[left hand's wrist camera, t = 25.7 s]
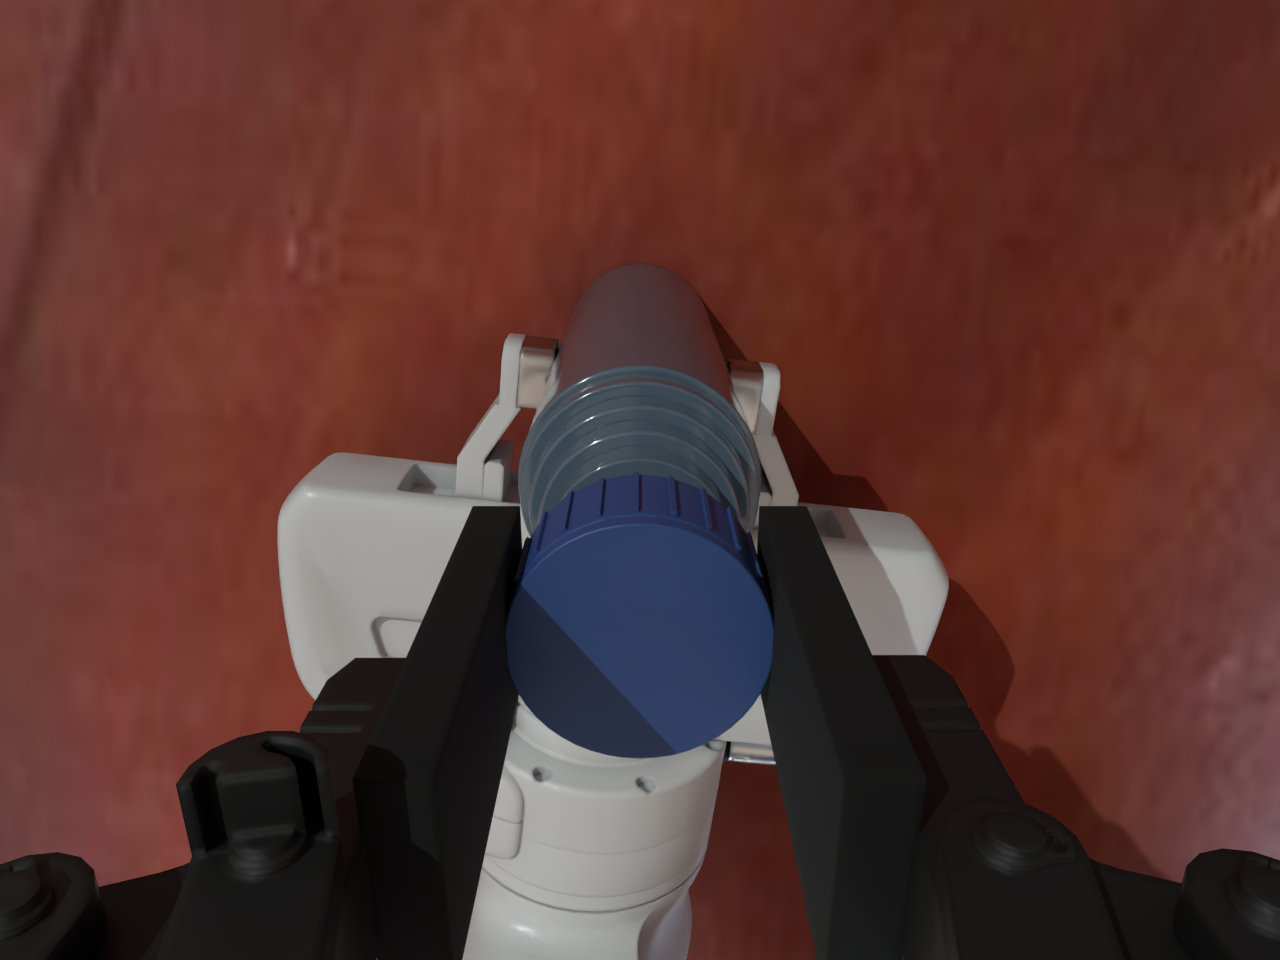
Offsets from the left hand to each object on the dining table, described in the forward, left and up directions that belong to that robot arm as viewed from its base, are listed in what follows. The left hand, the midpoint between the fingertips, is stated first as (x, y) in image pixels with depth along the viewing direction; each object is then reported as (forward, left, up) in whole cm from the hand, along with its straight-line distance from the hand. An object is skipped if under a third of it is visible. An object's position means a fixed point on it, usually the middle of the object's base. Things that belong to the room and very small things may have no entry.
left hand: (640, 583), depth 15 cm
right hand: (-1, 0, -13) cm, 13 cm away
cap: (0, 0, +2) cm, 2 cm away
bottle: (0, 0, -19) cm, 19 cm away
